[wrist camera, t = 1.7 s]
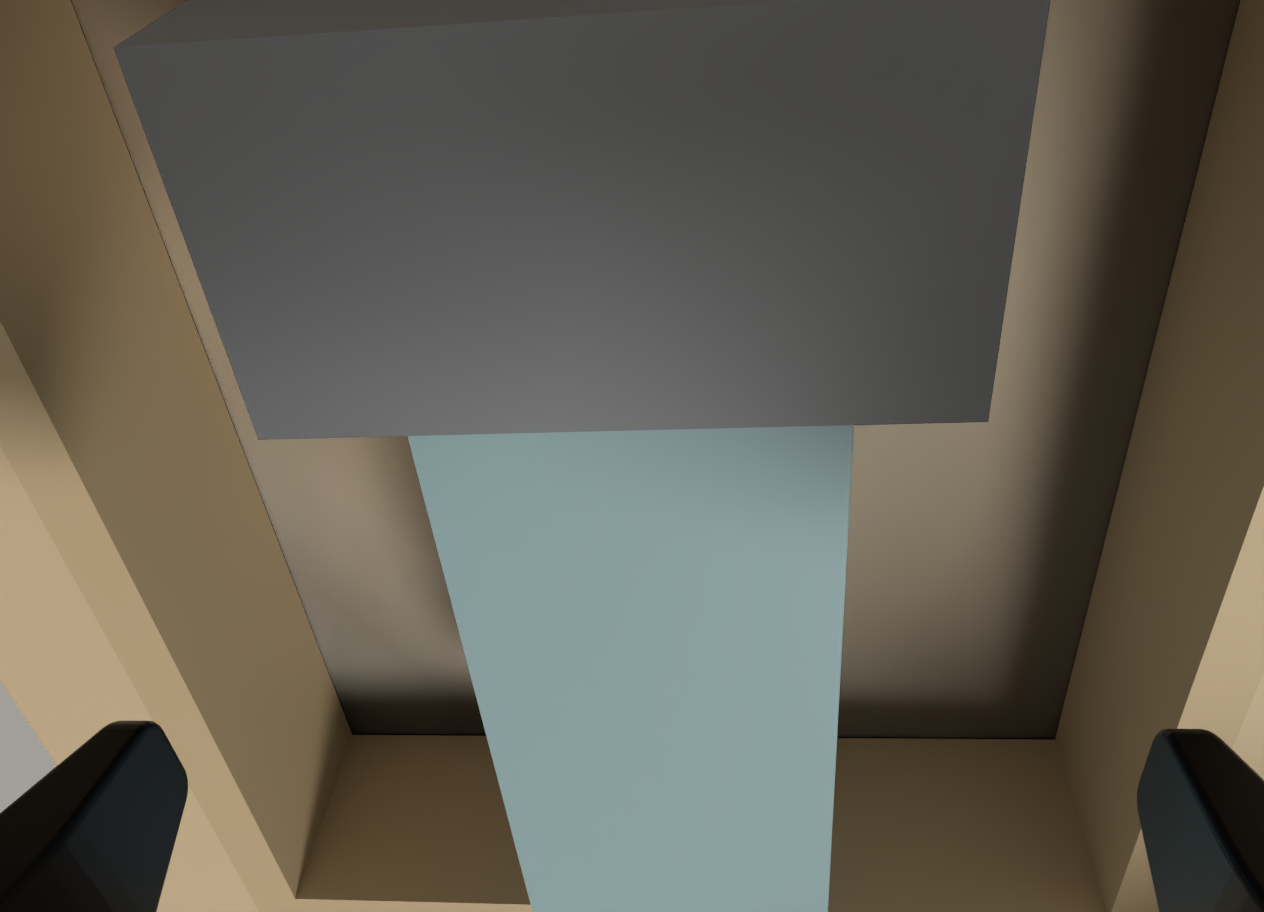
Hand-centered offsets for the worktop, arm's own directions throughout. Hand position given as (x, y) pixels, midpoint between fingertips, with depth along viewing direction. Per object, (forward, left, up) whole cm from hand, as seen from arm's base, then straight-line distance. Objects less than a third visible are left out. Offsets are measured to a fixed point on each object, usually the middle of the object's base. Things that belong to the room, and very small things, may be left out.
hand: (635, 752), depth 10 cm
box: (-1, 0, -7) cm, 7 cm away
